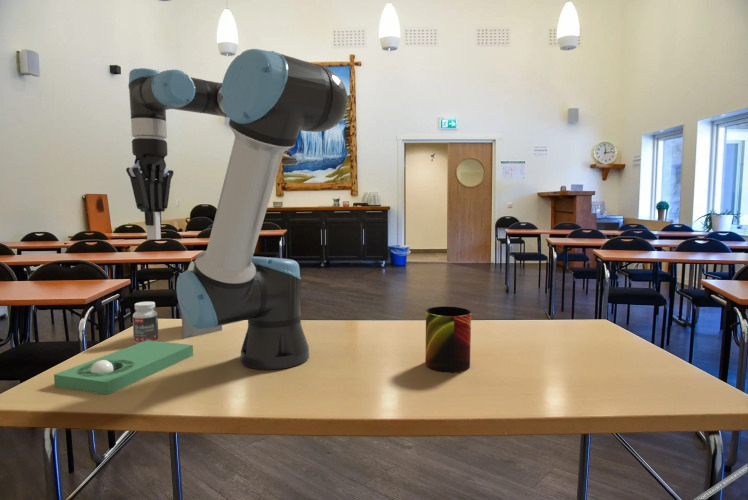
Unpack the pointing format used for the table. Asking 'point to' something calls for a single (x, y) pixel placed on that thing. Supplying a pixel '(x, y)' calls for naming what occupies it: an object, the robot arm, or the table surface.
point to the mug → (448, 339)
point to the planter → (190, 330)
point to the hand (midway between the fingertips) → (154, 239)
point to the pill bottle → (145, 322)
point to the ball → (102, 367)
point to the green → (124, 367)
